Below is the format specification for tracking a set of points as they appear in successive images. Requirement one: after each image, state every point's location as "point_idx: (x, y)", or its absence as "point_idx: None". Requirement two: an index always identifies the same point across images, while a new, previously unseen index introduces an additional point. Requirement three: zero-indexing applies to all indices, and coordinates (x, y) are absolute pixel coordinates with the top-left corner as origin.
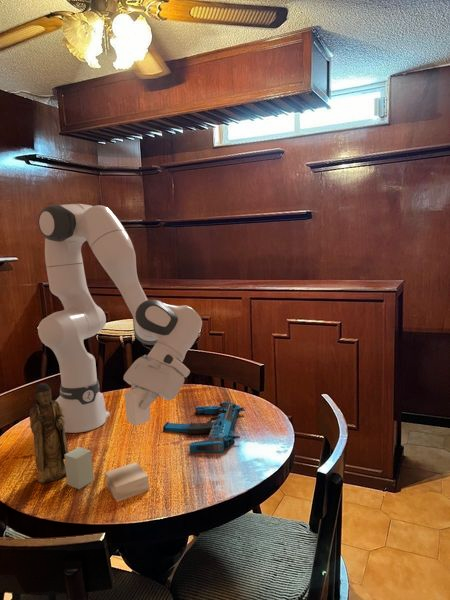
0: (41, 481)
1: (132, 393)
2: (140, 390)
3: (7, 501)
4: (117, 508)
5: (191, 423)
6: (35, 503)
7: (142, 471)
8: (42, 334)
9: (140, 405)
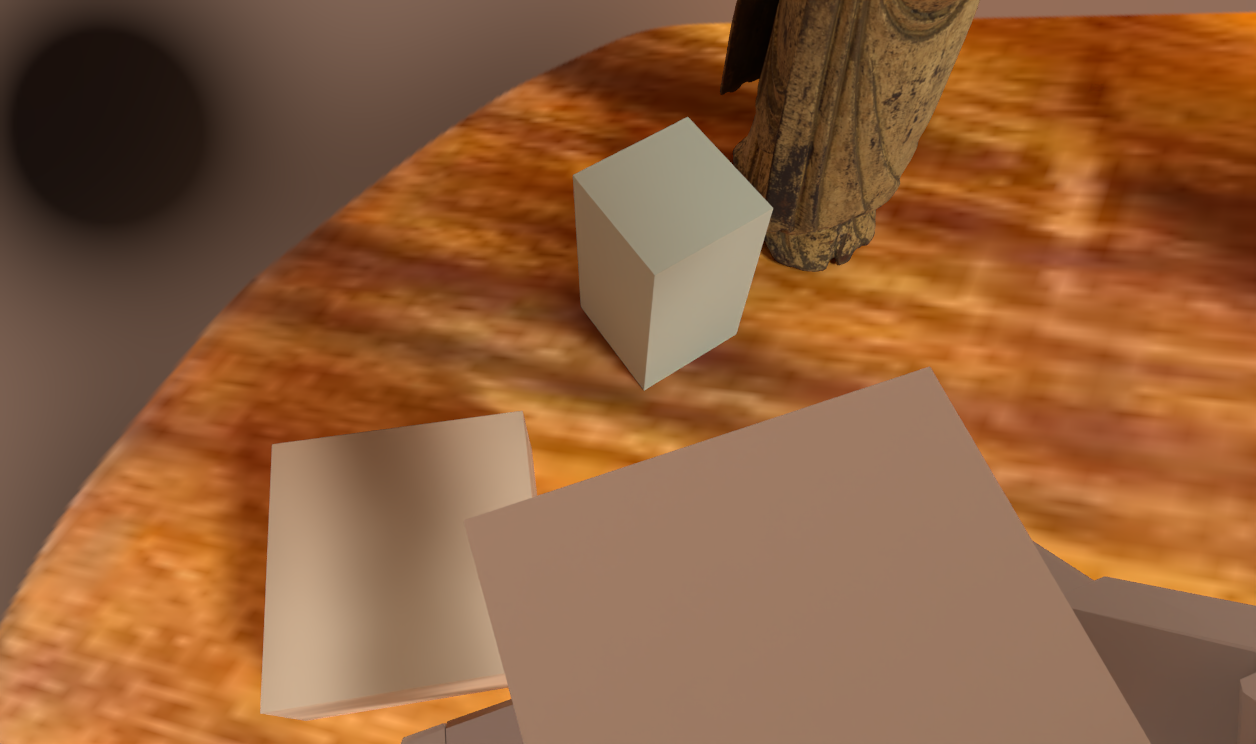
0: (743, 139)
1: (696, 536)
2: None
3: (645, 30)
4: (244, 473)
5: None
6: (560, 122)
7: (358, 682)
8: None
9: (456, 726)
